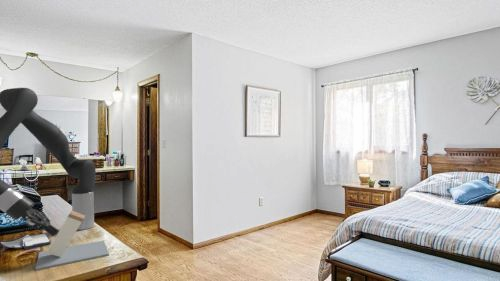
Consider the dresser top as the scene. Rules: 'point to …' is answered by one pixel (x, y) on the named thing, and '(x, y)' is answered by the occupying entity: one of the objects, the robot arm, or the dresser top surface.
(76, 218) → the cream block
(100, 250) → the rubber mat
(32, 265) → the dresser top surface
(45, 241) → the dark grey smartphone
